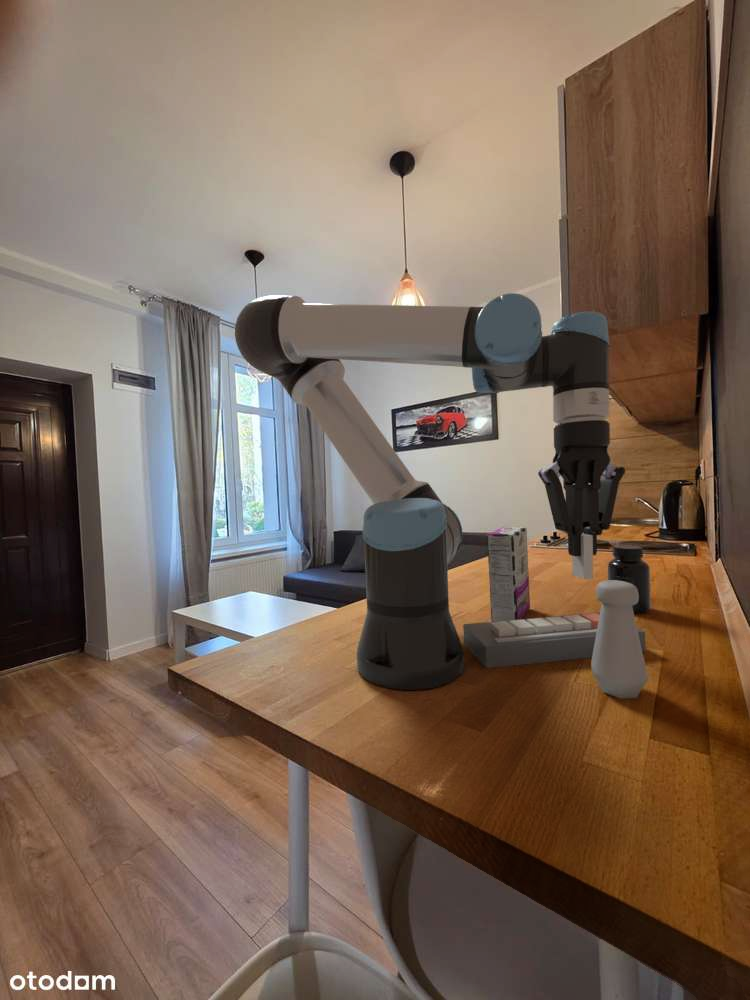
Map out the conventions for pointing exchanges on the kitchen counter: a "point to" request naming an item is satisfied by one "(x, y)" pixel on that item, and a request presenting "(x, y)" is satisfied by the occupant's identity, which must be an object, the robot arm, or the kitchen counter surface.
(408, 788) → the kitchen counter surface
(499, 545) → the candy bar box
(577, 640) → the gray button panel
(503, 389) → the robot arm
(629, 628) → the salt shaker
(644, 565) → the supplement bottle
